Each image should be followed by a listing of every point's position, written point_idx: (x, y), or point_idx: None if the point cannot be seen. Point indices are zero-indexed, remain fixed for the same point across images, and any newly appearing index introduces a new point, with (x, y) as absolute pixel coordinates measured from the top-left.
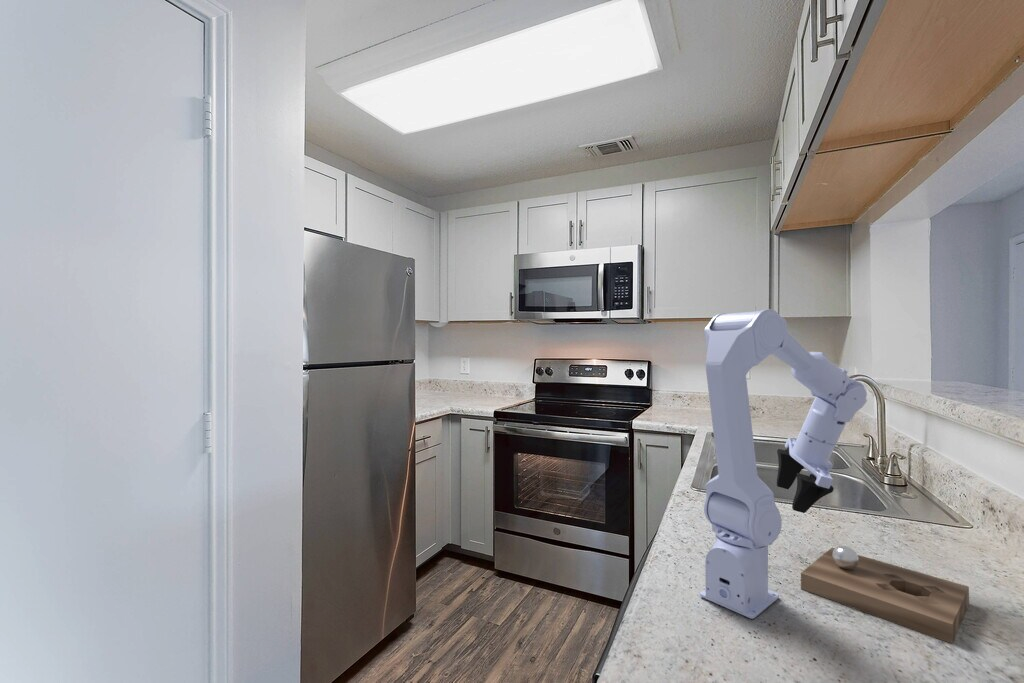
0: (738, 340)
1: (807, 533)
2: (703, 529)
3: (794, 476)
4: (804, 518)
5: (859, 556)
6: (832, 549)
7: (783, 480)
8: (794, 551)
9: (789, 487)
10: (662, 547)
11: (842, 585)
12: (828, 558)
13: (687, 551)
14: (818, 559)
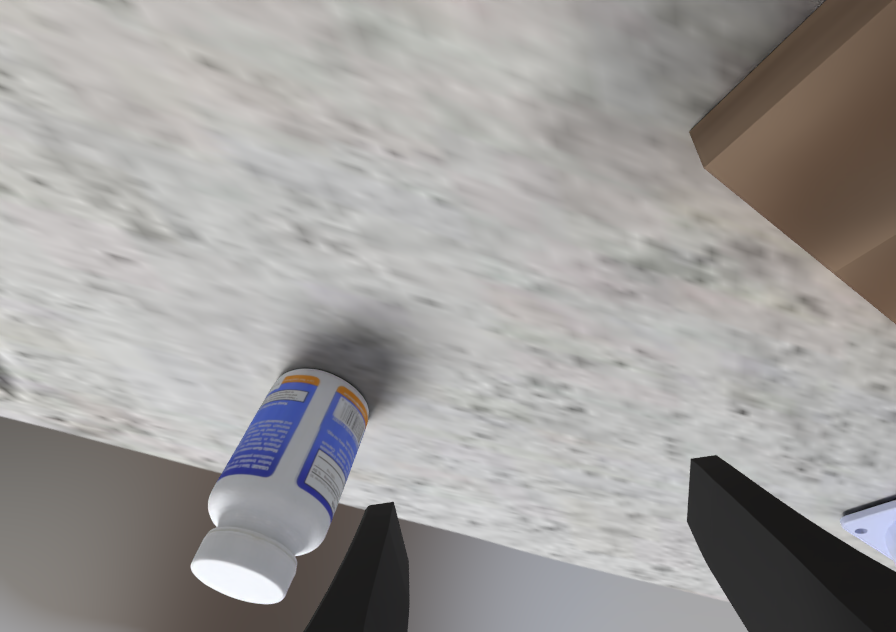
0: None
1: (282, 114)
2: (428, 467)
3: (373, 614)
4: (12, 39)
5: (888, 39)
6: (739, 178)
7: (398, 602)
8: (572, 265)
9: (393, 516)
10: (609, 567)
11: None
12: (878, 255)
13: (630, 536)
14: (883, 308)
